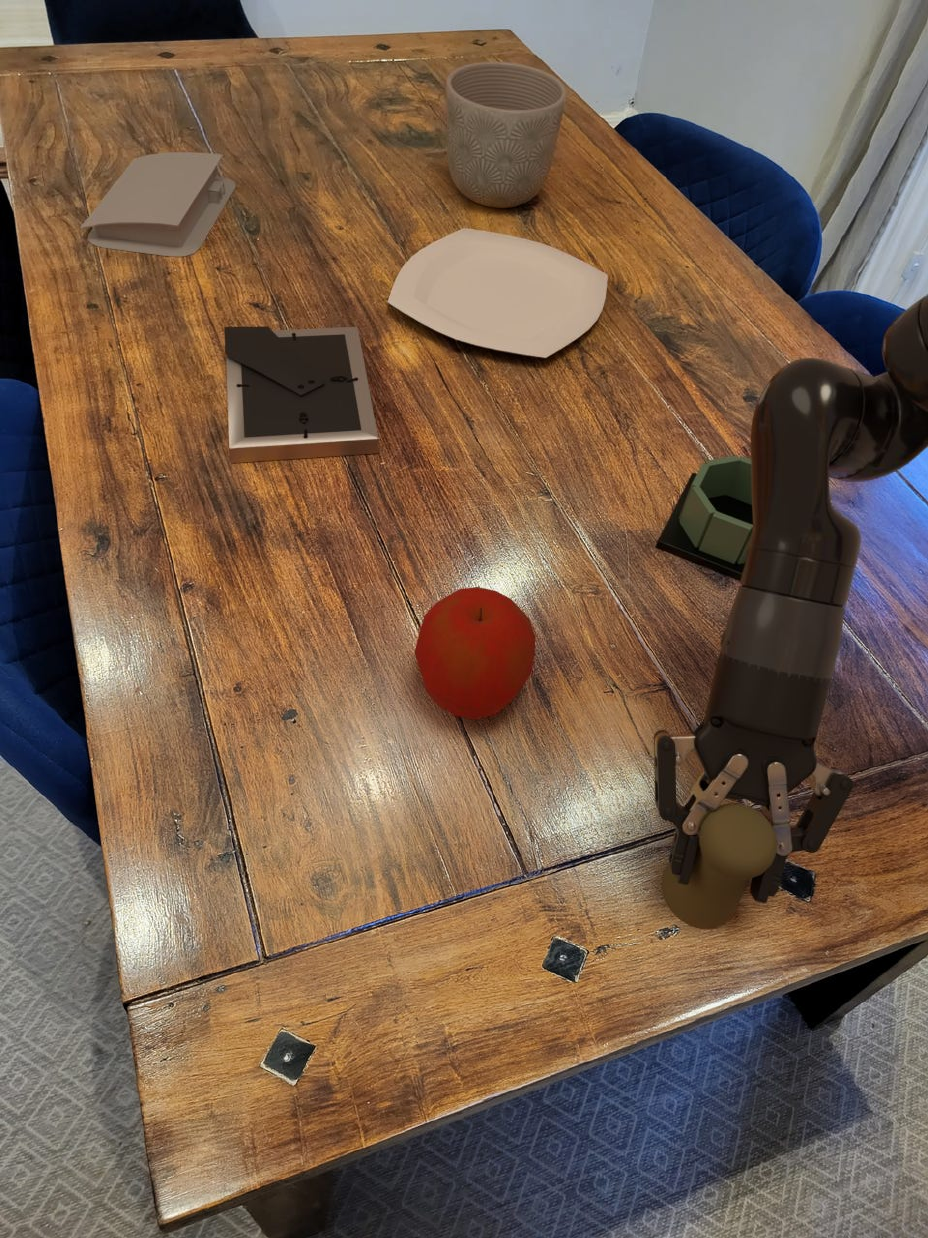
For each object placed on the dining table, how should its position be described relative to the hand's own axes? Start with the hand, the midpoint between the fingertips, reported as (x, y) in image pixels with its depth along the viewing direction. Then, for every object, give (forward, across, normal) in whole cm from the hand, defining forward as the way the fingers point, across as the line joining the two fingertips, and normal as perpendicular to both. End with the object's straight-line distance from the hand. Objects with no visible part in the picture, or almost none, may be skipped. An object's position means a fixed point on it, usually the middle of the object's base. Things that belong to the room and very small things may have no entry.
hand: (719, 888), depth 63 cm
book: (-56, -79, +63) cm, 116 cm away
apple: (-7, -21, +15) cm, 27 cm away
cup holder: (-26, +1, +33) cm, 42 cm away
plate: (-51, -30, +58) cm, 83 cm away
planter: (-71, -35, +78) cm, 111 cm away
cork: (+2, 0, +5) cm, 6 cm away
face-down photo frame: (-32, -48, +39) cm, 70 cm away
